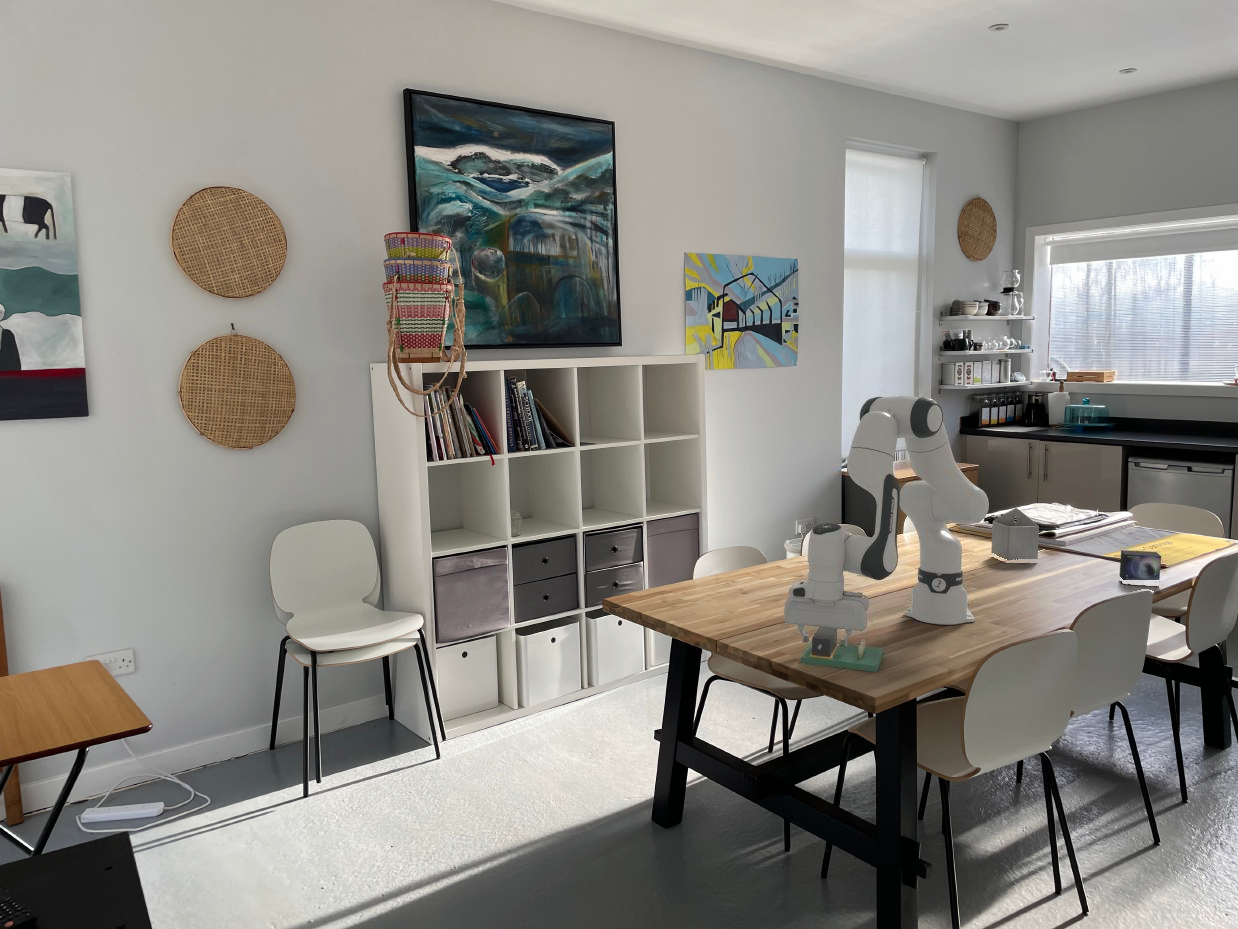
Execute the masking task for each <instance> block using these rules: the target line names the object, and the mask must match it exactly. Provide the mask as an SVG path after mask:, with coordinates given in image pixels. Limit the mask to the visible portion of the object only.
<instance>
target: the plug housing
mask: <svg viewBox="0 0 1238 929" xmlns="http://www.w3.org/2000/svg"><path fill="white" fill-rule="evenodd" d="M811 641H812V655H816V656H825V657H830V656H831V655H832V653H833V651H834V649H835V647H836V646H837V643H838V629H836V628H826V627H818V628H817V630H816V631H815V633H814V634H813V636H812V637H811Z"/></svg>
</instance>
